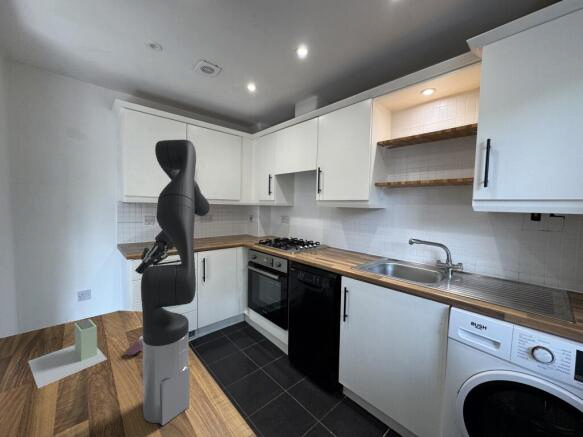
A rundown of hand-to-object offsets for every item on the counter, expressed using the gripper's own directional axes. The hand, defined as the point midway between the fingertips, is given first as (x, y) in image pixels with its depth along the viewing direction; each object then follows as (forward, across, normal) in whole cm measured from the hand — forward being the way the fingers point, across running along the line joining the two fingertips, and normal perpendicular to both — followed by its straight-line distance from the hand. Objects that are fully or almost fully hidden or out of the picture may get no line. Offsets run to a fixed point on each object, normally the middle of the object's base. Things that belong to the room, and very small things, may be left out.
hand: (138, 272), depth 82 cm
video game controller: (+18, +10, +13) cm, 25 cm away
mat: (+29, 0, +2) cm, 29 cm away
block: (+26, 0, +5) cm, 26 cm away
